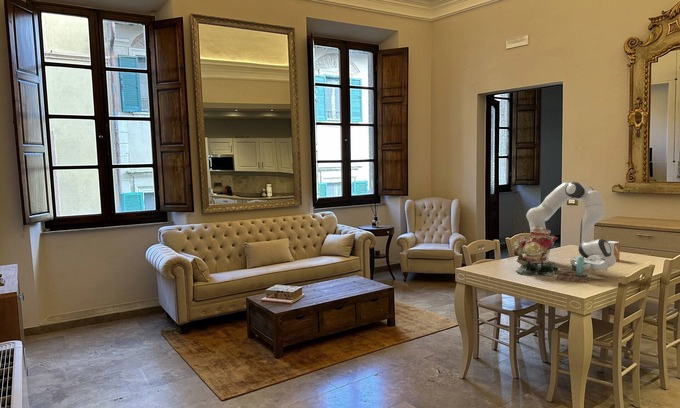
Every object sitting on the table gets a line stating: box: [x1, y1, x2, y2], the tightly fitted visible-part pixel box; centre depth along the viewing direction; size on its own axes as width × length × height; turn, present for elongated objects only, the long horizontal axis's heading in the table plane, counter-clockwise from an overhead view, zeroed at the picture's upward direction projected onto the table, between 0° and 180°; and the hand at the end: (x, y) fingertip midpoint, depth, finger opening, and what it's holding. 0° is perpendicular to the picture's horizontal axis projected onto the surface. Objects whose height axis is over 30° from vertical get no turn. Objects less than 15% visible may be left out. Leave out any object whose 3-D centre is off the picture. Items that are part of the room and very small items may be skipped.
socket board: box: [556, 271, 588, 284], centre depth 286 cm, size 16×10×2 cm, turn 61°
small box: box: [607, 240, 621, 261], centre depth 336 cm, size 8×6×13 cm
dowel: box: [575, 255, 585, 276], centre depth 283 cm, size 4×4×11 cm
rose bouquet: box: [510, 226, 559, 277], centre depth 305 cm, size 26×29×30 cm
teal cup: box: [558, 257, 576, 274], centre depth 298 cm, size 12×7×10 cm, turn 61°
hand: (579, 265), depth 283 cm, fingers closed on dowel, 4 cm apart
